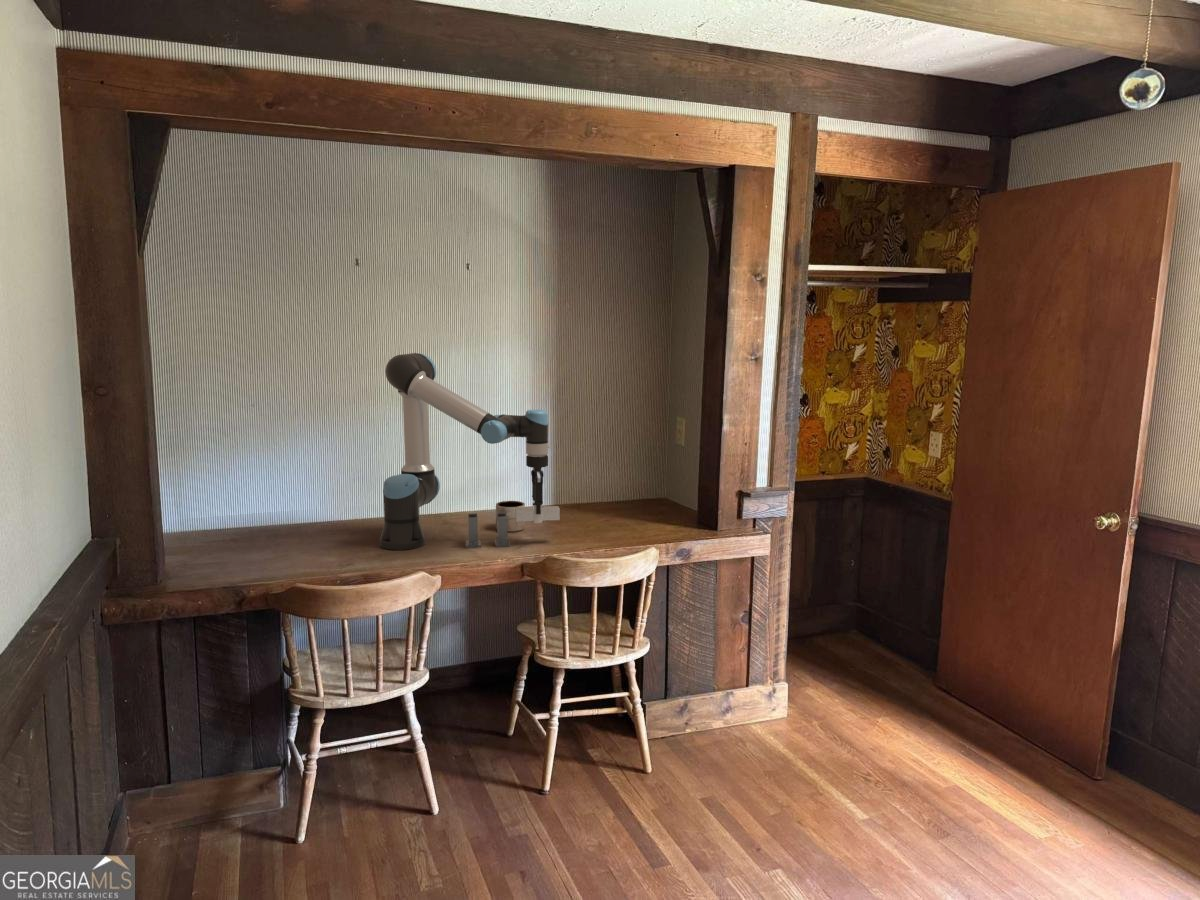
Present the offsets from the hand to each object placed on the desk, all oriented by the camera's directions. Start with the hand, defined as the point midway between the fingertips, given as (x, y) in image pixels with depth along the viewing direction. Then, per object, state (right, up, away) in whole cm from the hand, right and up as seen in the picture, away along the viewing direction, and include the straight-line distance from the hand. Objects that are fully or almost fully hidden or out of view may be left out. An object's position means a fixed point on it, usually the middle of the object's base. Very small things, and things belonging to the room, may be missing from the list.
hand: (537, 521), depth 276 cm
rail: (0, +1, 0) cm, 1 cm away
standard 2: (-12, -8, -1) cm, 15 cm away
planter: (-12, -5, +19) cm, 23 cm away
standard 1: (-22, -8, -2) cm, 24 cm away
